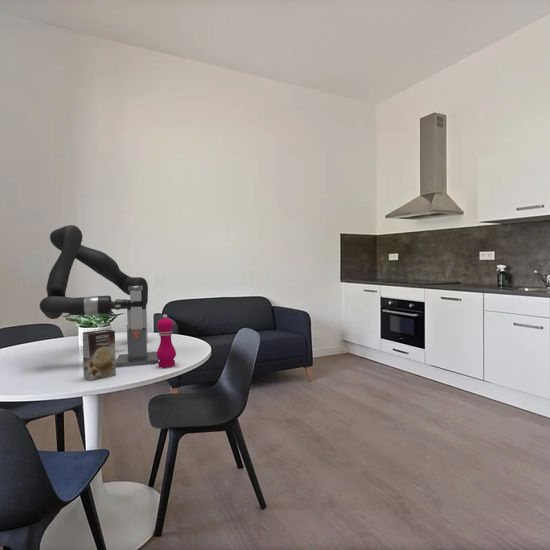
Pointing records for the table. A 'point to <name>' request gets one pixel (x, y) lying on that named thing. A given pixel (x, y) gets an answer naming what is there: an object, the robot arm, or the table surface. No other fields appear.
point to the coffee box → (99, 354)
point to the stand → (137, 350)
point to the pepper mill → (165, 343)
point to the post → (136, 311)
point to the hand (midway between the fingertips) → (143, 303)
